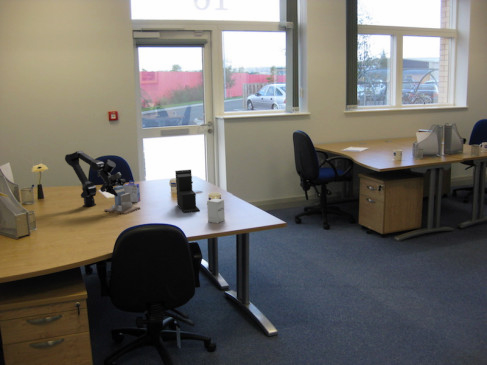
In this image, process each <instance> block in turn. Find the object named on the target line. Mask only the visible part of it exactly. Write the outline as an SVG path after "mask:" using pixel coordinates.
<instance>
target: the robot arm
mask: <svg viewBox="0 0 487 365" xmlns="http://www.w3.org/2000/svg"><path fill="white" fill-rule="evenodd" d="M80 160H81V161H82V162H84V163H86V164H87V165H89V166H90V169H92V170H93V171H94V172H97V177H98V178H99V177H101V179H102V180H103V181H102V182H103V184H102V185H101V187H100V188H99V189H100V191H101V193H104V192H105V193H108V194H111V195H113V196H114V195H115V196H118V195H117V193H116V192H115V190H114V187H117V186H124V185H125V184H126V182H127V181H126V179H125V178H121V177H123V176H122V174H121V172H120V171H119V172H116V173H115V174H112V175H111V173H112V171H113V170H114V169H115V168H116V165H117V164H116V163H115V162H114V161H112V160H110V159H106V161H105V162H103V161H102V160H98V159H95V158H93V157H92V156H90V155H89V154H86V153H85V152H84V151H83V150H78V151H74V152H73V153H68V154H65V156H64V161H65V162H66V163H67V165H69V166H70V167H72V169H73V171H74V173H75V174H76V176H77V178H78V180H79V181H80V183H81V189H82V192H81V194H80V197H81V198H82V199H83V205H82V207H89V208H90V207H94V206H97V203H95V198H94V197H95V196H96V195H97V186H96V185H95V182H92V181H90V180H89V179H88V177H87V174H86V173H85V171H84V170H83V168H82V167H81V166H82V165H80V164H81V163H80ZM118 179H119V180H118ZM124 194H125V192H124Z"/></svg>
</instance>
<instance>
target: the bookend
mask: <svg viewBox="0 0 487 365" xmlns="http://www.w3.org/2000/svg"><path fill="white" fill-rule="evenodd" d="M174 172H175V187H176V188H175V190H176V203H177V206H178V207H179V209H180V210H181V211H182V213H183V214H187V213H198V212H200V211H201V210H200V209H199V207H198V205H197V197H196V196H197V194H196V193H195V191H194V190H193V183H194V181H193V175H192V169H181V170H175V171H174Z"/></svg>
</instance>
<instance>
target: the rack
mask: <svg viewBox="0 0 487 365" xmlns="http://www.w3.org/2000/svg"><path fill="white" fill-rule="evenodd" d="M135 210H136V211H137V210H141V207H139V206H134V205H133V202H131V198H130V193H126V194H123V195H121V205H120V206H117V205H115V204H112V205H111V207H108V208H106V209H104V212H106V211H107V213H113V212H114V214H120V213H121V215H127V214H129V213H132V212H136V211H135Z"/></svg>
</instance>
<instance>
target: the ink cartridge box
mask: <svg viewBox="0 0 487 365" xmlns="http://www.w3.org/2000/svg"><path fill="white" fill-rule="evenodd" d="M123 186H124V192H125V194H126V193H130V198H131V203H138V202H140V201H141V192H140V191H141V190H140V183H135V180H129V183H125V184H124V185H123Z"/></svg>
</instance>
